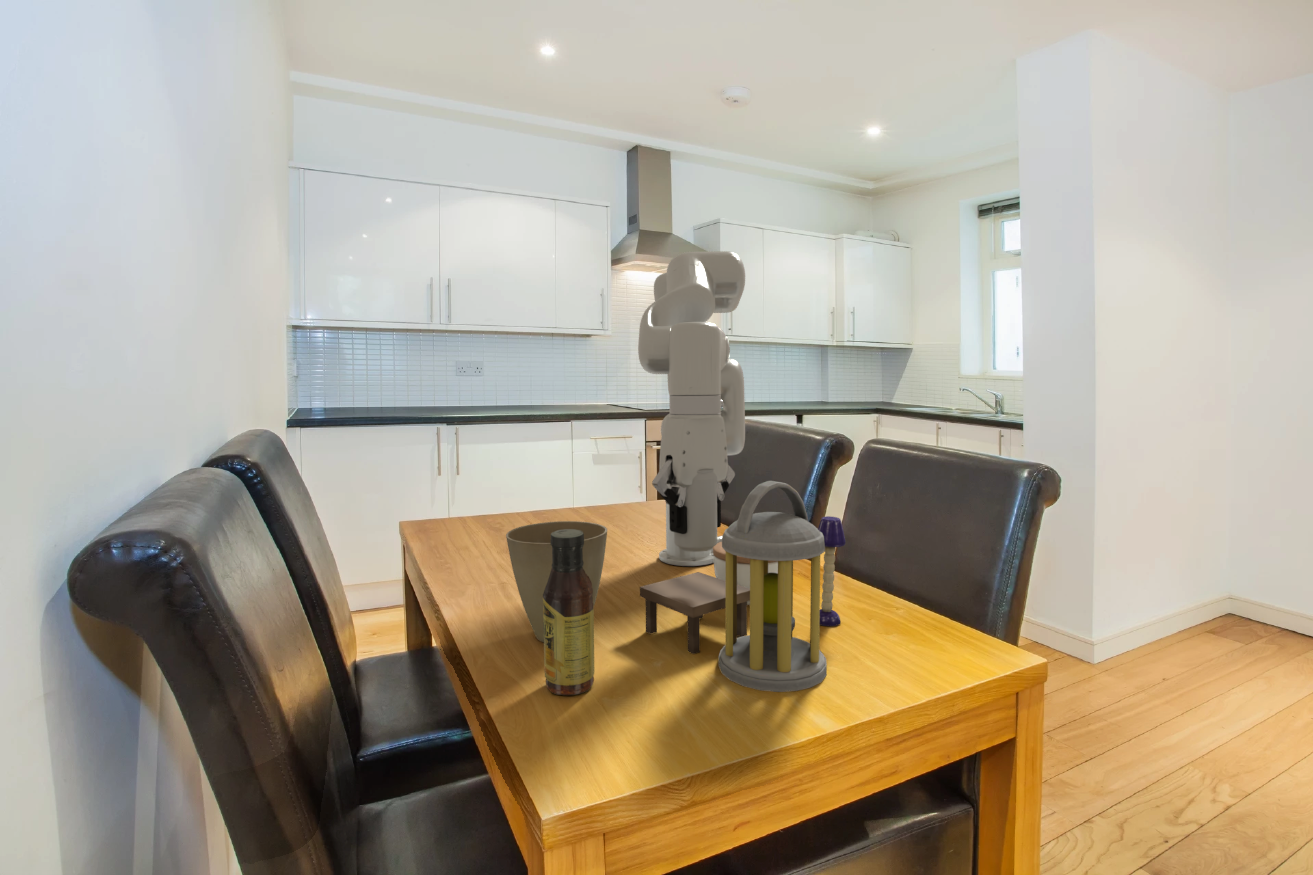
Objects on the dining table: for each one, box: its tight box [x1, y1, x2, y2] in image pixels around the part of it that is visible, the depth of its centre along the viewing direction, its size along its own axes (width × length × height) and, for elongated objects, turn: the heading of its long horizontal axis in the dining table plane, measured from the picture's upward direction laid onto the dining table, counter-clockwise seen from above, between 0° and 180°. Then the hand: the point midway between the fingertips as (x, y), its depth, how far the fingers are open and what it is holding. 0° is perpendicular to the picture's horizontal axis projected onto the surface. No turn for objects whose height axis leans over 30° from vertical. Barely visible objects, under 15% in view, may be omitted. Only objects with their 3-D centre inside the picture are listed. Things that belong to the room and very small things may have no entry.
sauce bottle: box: [543, 529, 596, 696], centre depth 83 cm, size 6×6×20 cm
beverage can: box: [674, 469, 718, 552], centre depth 99 cm, size 6×6×12 cm
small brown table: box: [639, 571, 750, 655], centre depth 101 cm, size 12×12×7 cm
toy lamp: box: [817, 515, 846, 627], centre depth 105 cm, size 5×5×17 cm
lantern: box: [718, 480, 828, 693], centre depth 88 cm, size 14×14×25 cm
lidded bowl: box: [713, 542, 778, 606], centre depth 117 cm, size 13×13×11 cm
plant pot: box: [505, 520, 608, 643], centre depth 101 cm, size 15×15×16 cm
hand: (695, 527), depth 100 cm, fingers closed on beverage can, 6 cm apart
